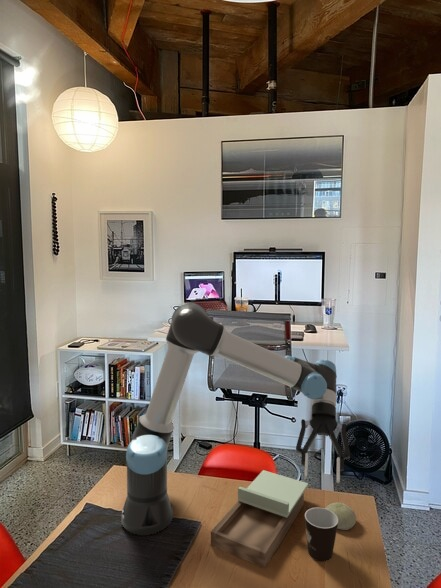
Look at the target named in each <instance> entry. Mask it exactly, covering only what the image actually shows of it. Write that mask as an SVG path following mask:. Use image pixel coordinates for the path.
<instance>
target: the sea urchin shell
mask: <svg viewBox="0 0 441 588" xmlns="http://www.w3.org/2000/svg"><path fill="white" fill-rule="evenodd" d="M325 509H328V510H330V511H332V512H333V513H335V514H336V516H337V517H338V526H337V530H343V531H348V530H350V529H352V528H353V527H354V526H355V524H356V523H357V516H356V513H355V511H354V510H353V509H352V508H351V506H349V505H347V504H346V503H343V502H340V501H339V502H337V501H336V502H332V503H329V504H328V505H327V506H326V507H325Z"/></svg>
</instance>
